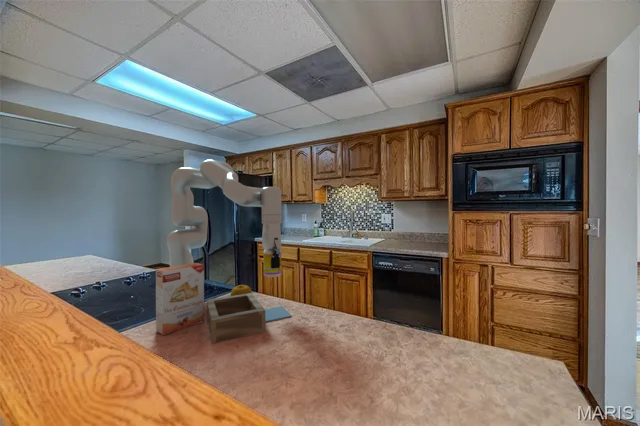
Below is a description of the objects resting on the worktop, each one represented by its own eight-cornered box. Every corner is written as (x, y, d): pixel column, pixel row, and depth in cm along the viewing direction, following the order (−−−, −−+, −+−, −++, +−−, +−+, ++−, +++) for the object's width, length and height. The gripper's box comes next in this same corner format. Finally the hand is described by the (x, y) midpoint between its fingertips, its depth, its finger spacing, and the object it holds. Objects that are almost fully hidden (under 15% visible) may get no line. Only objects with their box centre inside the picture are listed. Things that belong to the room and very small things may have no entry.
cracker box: (163, 336, 83) (162, 271, 82) (155, 331, 86) (154, 268, 86) (205, 321, 94) (204, 263, 94) (196, 317, 97) (196, 261, 97)
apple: (231, 304, 111) (230, 283, 111) (251, 301, 113) (251, 281, 113) (230, 311, 103) (230, 289, 103) (252, 308, 105) (252, 287, 105)
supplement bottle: (279, 277, 95) (279, 242, 95) (261, 277, 96) (261, 243, 95) (282, 273, 102) (282, 240, 102) (266, 273, 102) (265, 241, 102)
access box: (206, 318, 96) (206, 299, 96) (251, 310, 103) (251, 293, 103) (211, 343, 78) (211, 320, 78) (265, 331, 85) (265, 310, 85)
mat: (255, 312, 101) (255, 311, 101) (282, 307, 106) (282, 306, 106) (262, 323, 92) (262, 321, 92) (291, 316, 97) (291, 315, 97)
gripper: (256, 219, 105) (257, 263, 105) (268, 220, 89) (269, 272, 89) (274, 218, 108) (275, 261, 108) (289, 219, 93) (289, 269, 93)
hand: (272, 265), depth 99 cm, fingers closed on supplement bottle, 6 cm apart
